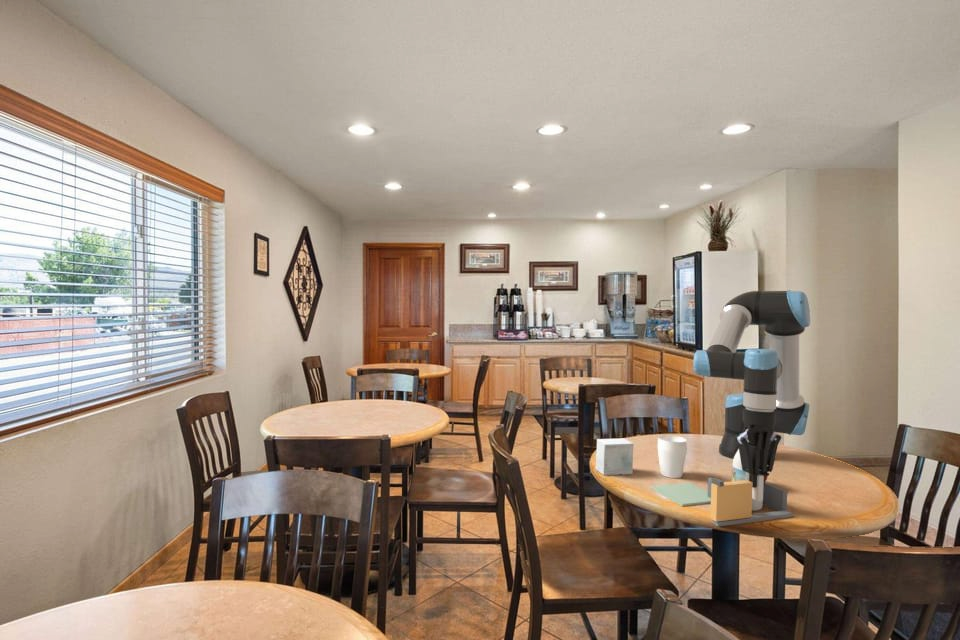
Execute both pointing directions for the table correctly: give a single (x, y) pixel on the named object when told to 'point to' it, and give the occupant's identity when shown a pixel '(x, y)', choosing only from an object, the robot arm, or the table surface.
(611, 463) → the skincare box
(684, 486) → the mat
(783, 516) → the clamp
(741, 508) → the tan wooden slab
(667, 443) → the cup
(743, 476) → the milk bottle
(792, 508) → the table surface
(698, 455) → the table surface
